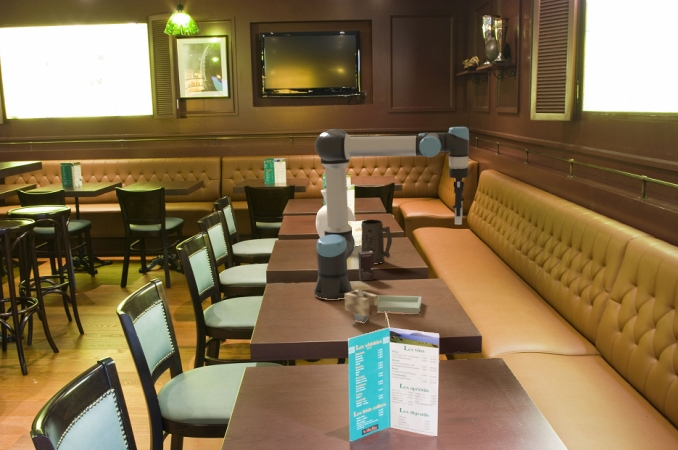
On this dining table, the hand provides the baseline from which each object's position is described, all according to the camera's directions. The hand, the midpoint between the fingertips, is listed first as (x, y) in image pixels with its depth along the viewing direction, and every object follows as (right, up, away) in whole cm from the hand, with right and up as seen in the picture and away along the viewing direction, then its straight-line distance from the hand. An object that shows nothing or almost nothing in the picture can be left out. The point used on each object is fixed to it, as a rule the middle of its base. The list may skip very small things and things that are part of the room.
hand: (458, 220), depth 253 cm
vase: (-49, -13, +83) cm, 97 cm away
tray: (-26, -33, -15) cm, 44 cm away
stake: (-39, -36, -27) cm, 60 cm away
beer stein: (-29, -19, +48) cm, 59 cm away
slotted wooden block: (-39, -32, -28) cm, 58 cm away
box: (-35, -25, +22) cm, 49 cm away
